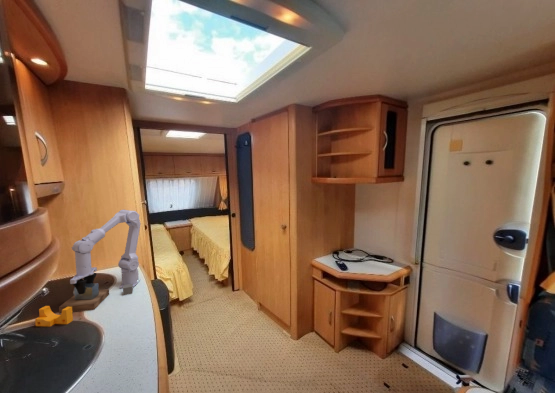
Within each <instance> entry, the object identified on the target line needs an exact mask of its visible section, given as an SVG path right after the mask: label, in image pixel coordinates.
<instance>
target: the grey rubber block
mask: <svg viewBox="0 0 555 393" xmlns="http://www.w3.org/2000/svg"><path fill="white" fill-rule="evenodd" d="M133 288H134V287H133V284H128V285H124V286H123V288H122V296H128V295H132V294H133V292H134V289H133Z"/></svg>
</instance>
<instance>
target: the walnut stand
mask: <svg viewBox="0 0 555 393" xmlns="http://www.w3.org/2000/svg"><path fill="white" fill-rule="evenodd" d="M108 296H110V289H109V288H108V289H107V288H105V289H99V295H98V296H96V297H95V298H94V299H83V300H75V295H73V296H71V297H70V298H69V299H67V300H66V301H65V302H64V303H62V304H61V305H59V306H58V314H61V313H62V310H63V309H64V308H66V307H72V313H75V312H84V311H95V310H96V309H97V308H98V307H99V306H100V304H102V302H104V301H105V299H107V297H108Z"/></svg>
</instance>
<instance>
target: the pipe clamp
mask: <svg viewBox="0 0 555 393" xmlns="http://www.w3.org/2000/svg"><path fill="white" fill-rule="evenodd" d="M50 306H51V305H45V306H42V307H41V308H39V309H38V312H39V313H38V314H39V316H38V317H37V318H35V319H34V323H35V327H48V328H49V327H52V326H54V325H68V324H70V323H72V322H73V321H74V316H73V315H74V314H73V313H74V312H72V307H66V308H64V309H63V310H62V313H60V314H56V313H54V312H53V311H52V309H51V307H50Z"/></svg>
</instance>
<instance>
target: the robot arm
mask: <svg viewBox="0 0 555 393" xmlns="http://www.w3.org/2000/svg"><path fill="white" fill-rule="evenodd" d="M122 223H125V224H126V225H127V226H128V231H127V238H126V244H125V249H124V253H123V254H122V255H121V258H120V259H119V261H118V265H117V266H118V268H120V272H121V285H120V286H119V287H118V288H119V289H123V286H124V285H128V284H133V288H135V287H136V286H137V284H138V283H139V282H137V280H138V279H140V278H139V269H138V267H139V256H138V254H137V248H138V242H139V237H140V229H141V224H142V223H141V220H140V214H139V213H138V212H137V211H136V210H129V209H128V210H127V209H120V210H119V211H118V212H115V214H114V216H113V217H111V218H110V219H109V220H108V221H106V223H105V224H104V225H102V226H101V227H100V228H95V229H91V230H90V232H89V233H88V234H87V235H85V236H84V237H83V236H82V238H81V239H80V240H77V241H75V242H74V243H73V245H72V247H71V250H72V251H73V252H74V256H75V258H74V259H75V273H76V274H75V275H74V276H73V278H70V280H69V283H70V284H69V285H73V287H74V288H76V289H77V291H78V293H79V294H84V292H85V284H87V283H94V281H95V278H96V276H97V271H98V270H97V269H98V268H97V266H95V267H92V254H91V251H92V250H93V248H94V246H95V245H96V244H98V242H100V241H101V240H103V238H105V237H106V233H107V232H109V231H110V230H111V229H113V228H114V227H116V226H117V225H119V224H122ZM135 285H136V286H135ZM134 286H135V287H134Z"/></svg>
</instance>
